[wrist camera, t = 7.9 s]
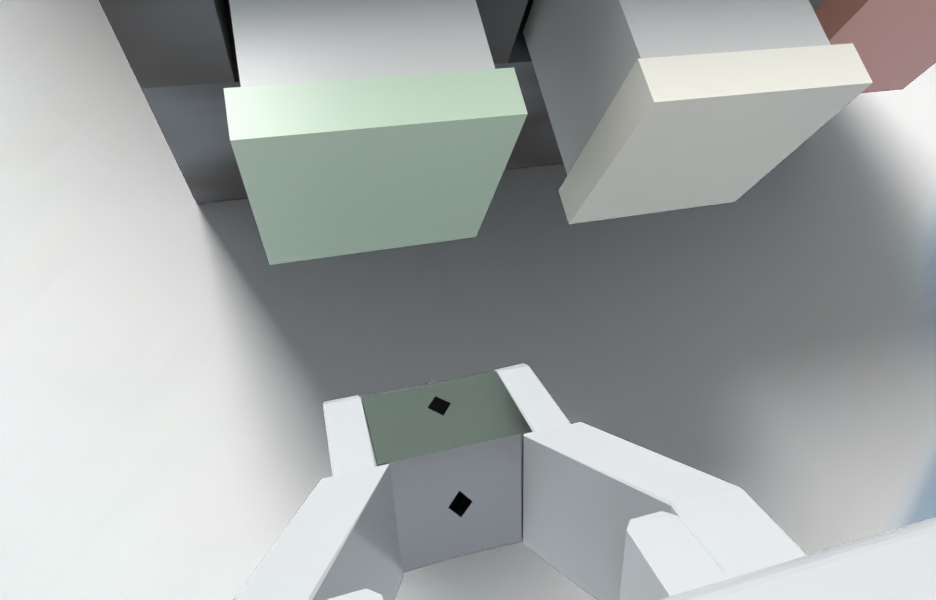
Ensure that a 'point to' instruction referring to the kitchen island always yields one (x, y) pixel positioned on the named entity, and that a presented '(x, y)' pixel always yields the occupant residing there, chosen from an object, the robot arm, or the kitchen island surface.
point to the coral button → (883, 36)
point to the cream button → (681, 96)
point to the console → (215, 67)
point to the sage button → (367, 123)
